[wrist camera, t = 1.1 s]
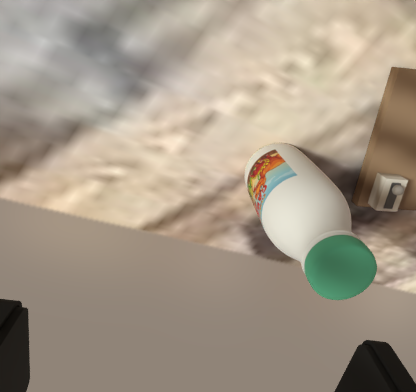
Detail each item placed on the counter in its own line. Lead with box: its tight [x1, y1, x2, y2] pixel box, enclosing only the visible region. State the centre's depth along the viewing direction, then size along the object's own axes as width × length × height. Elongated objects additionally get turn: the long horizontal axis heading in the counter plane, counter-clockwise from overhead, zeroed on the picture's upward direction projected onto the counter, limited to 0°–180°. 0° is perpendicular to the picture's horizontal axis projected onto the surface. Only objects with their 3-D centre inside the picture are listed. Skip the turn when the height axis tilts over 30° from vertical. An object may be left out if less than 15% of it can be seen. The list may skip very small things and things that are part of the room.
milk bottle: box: [245, 143, 377, 300], centre depth 31 cm, size 8×8×20 cm
